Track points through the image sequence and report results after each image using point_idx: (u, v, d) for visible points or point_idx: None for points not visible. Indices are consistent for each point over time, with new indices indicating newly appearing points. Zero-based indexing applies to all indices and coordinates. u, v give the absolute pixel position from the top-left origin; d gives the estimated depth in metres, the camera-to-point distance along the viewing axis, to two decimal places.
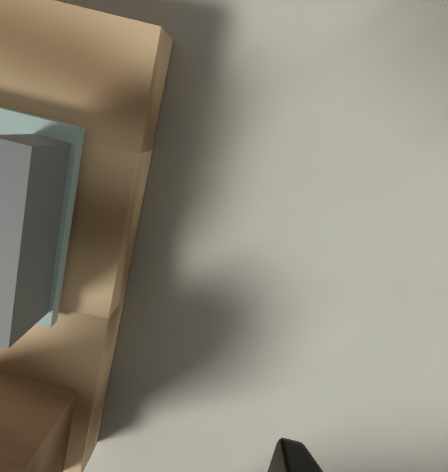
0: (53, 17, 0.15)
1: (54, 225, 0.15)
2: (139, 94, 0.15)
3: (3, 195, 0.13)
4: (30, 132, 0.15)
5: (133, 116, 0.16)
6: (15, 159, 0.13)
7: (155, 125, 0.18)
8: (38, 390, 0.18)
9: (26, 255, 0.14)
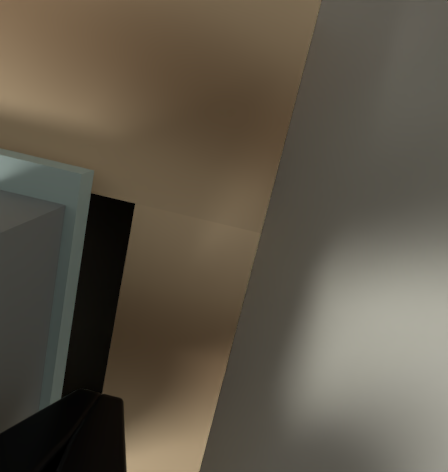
0: None
1: (33, 369, 0.08)
2: (271, 119, 0.08)
3: None
4: None
5: (256, 162, 0.08)
6: None
7: None
8: None
9: None
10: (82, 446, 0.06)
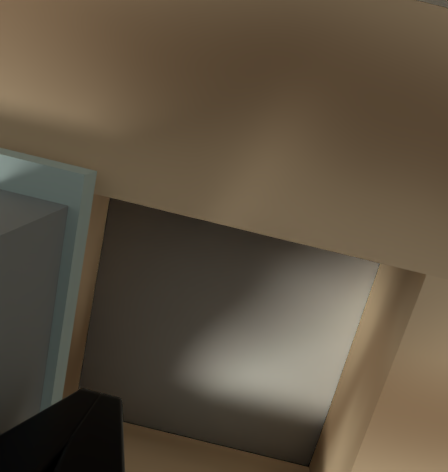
0: (432, 43, 0.07)
1: (35, 370, 0.08)
2: None
3: None
4: None
5: None
6: None
7: None
8: None
9: None
10: (80, 446, 0.06)
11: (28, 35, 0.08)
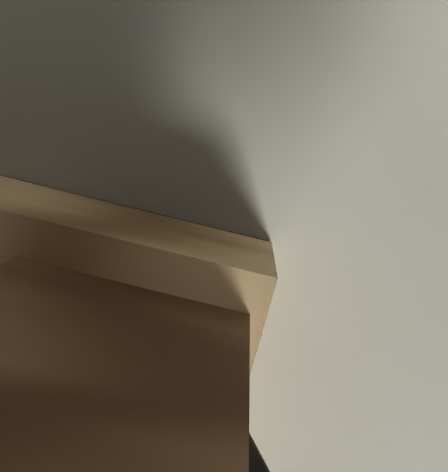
0: None
1: None
2: None
3: None
4: None
5: None
6: None
7: None
8: None
9: None
10: None
11: None
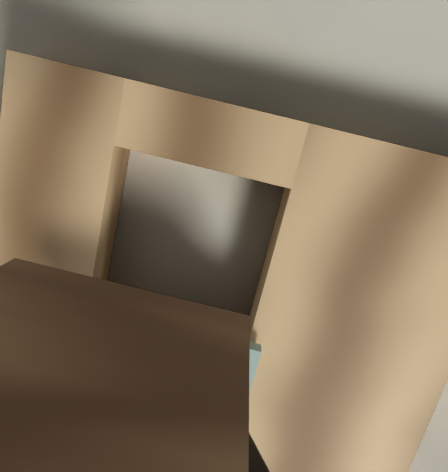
0: (11, 155, 0.17)
1: None
2: (68, 74, 0.16)
3: None
4: None
5: (89, 81, 0.16)
6: None
7: None
8: None
9: None
10: None
11: None
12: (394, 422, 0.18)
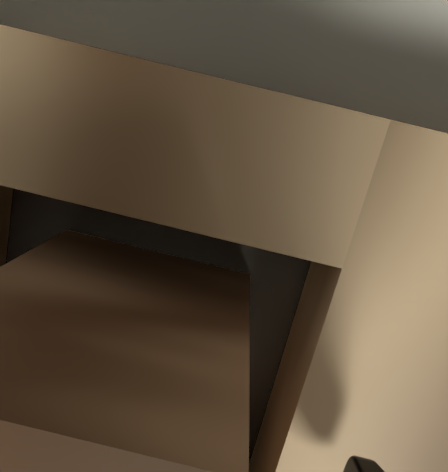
0: None
1: None
2: None
3: None
4: None
5: None
6: None
7: None
8: None
9: None
10: None
11: None
12: None
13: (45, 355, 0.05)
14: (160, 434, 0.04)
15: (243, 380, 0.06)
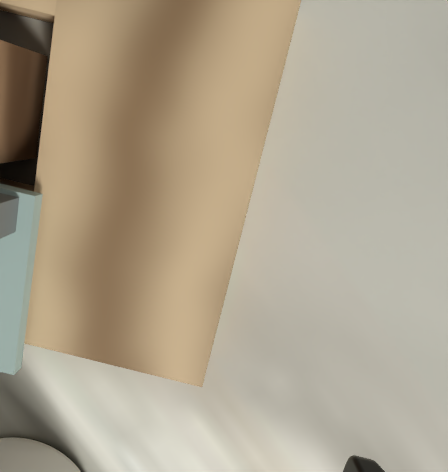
0: None
1: None
2: None
3: None
4: None
5: None
6: None
7: None
8: None
9: None
10: None
11: None
12: (193, 282, 0.18)
13: None
14: None
15: None
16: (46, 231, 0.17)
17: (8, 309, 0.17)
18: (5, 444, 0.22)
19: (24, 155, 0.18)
